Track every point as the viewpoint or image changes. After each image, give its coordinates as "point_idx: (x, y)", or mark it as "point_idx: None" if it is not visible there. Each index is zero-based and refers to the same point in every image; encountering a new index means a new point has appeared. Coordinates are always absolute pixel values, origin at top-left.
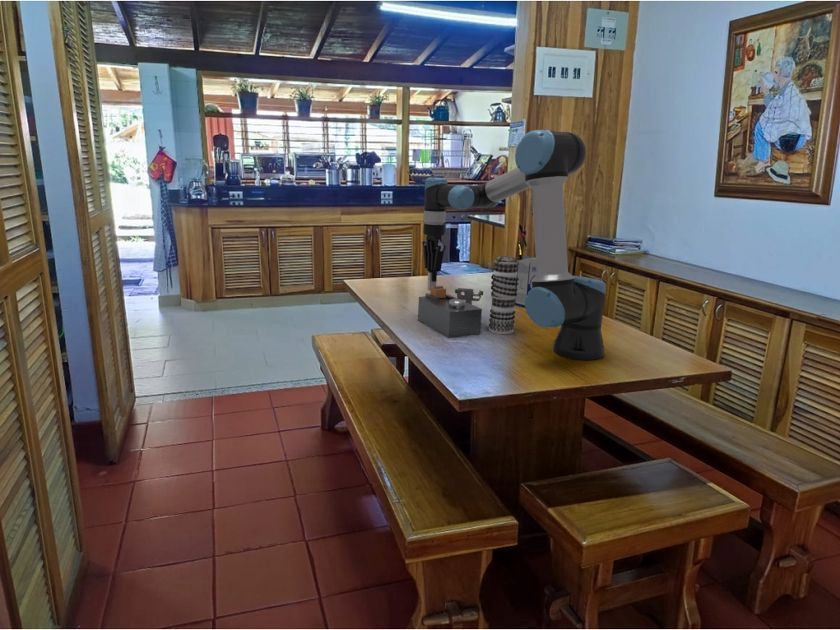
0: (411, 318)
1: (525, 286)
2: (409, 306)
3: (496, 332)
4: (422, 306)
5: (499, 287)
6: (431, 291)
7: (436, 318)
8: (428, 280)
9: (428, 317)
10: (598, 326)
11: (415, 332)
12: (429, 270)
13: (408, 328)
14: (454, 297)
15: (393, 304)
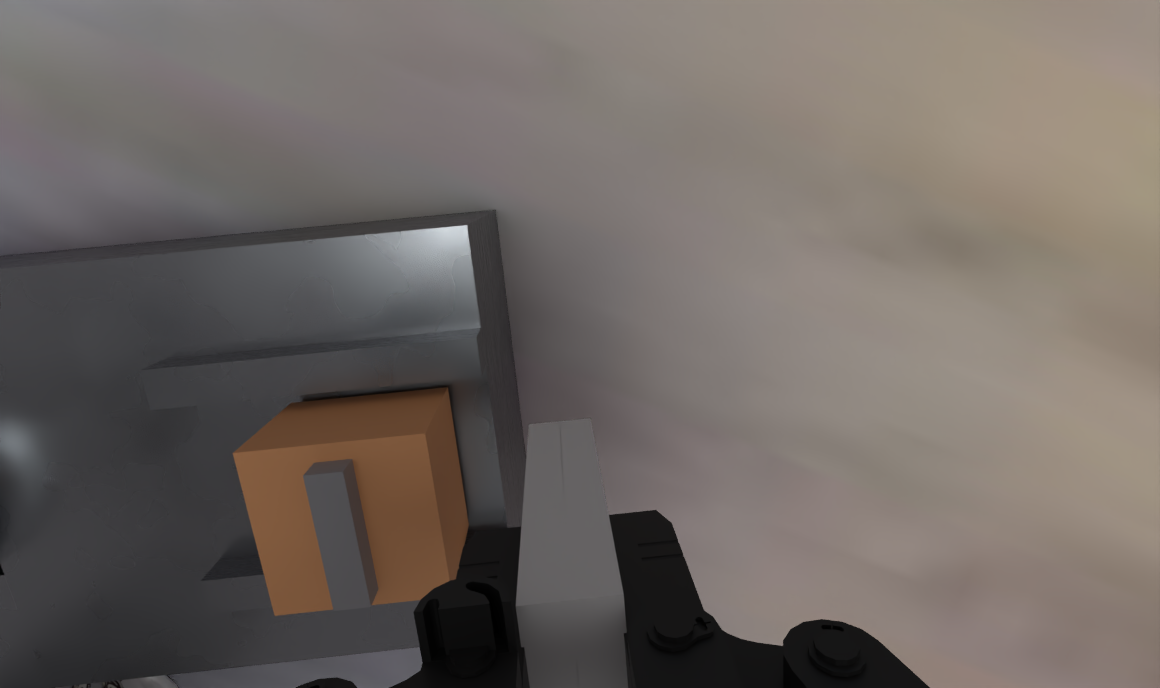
0: (572, 173)
1: None
2: (973, 313)
3: None
4: (371, 228)
5: None
6: (402, 414)
7: (51, 255)
8: (578, 490)
9: (251, 235)
10: None
11: (88, 22)
12: (628, 648)
13: (234, 6)
14: (355, 643)
15: (1102, 189)
